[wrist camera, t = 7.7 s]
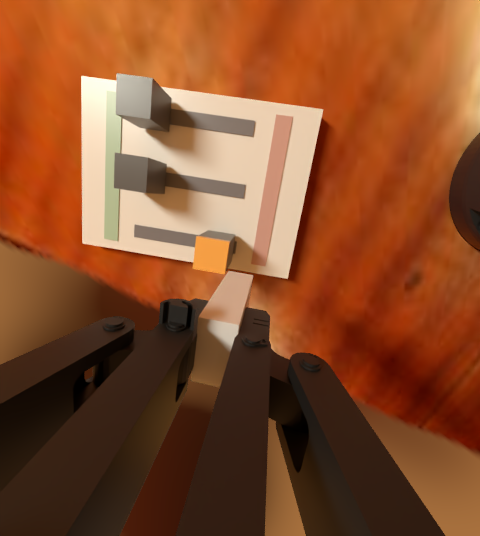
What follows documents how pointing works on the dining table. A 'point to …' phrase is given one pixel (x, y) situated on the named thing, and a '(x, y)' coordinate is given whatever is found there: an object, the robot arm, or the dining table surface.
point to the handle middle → (139, 174)
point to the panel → (200, 176)
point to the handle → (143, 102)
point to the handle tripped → (213, 251)
